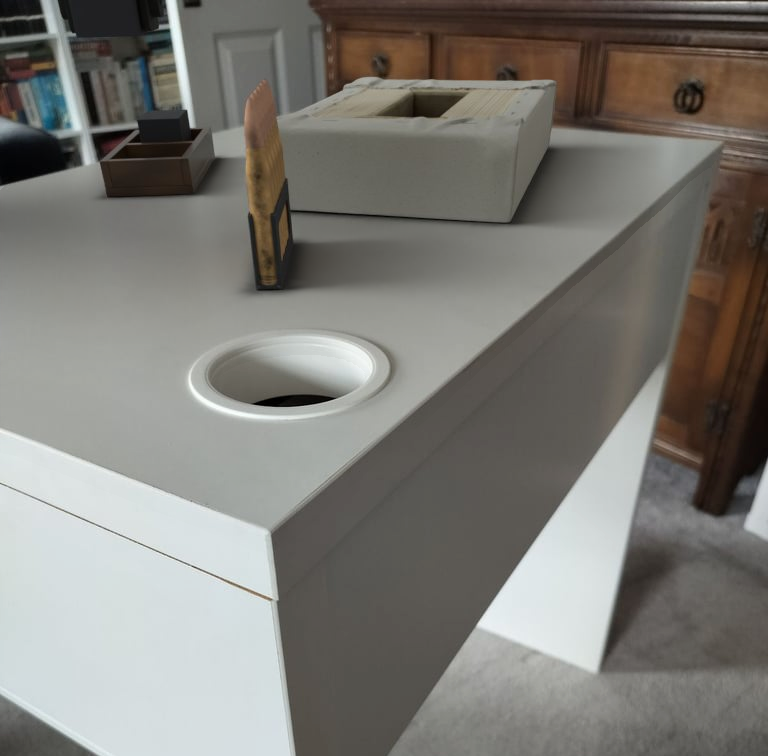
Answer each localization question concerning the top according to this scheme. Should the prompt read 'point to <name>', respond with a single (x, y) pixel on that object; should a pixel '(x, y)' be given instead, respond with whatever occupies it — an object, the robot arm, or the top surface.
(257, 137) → the ammunition clip
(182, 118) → the charcoal rectangular block
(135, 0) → the black block
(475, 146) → the box
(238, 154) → the top surface
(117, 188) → the tray
